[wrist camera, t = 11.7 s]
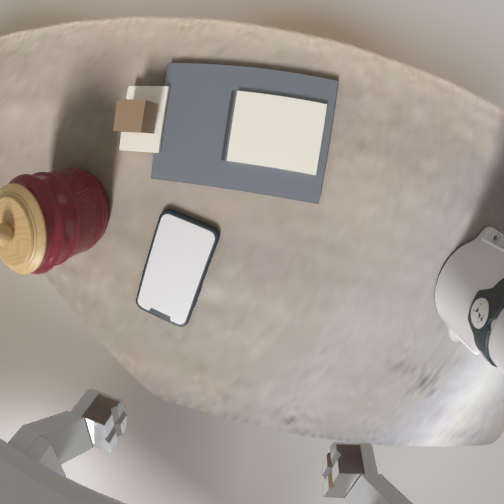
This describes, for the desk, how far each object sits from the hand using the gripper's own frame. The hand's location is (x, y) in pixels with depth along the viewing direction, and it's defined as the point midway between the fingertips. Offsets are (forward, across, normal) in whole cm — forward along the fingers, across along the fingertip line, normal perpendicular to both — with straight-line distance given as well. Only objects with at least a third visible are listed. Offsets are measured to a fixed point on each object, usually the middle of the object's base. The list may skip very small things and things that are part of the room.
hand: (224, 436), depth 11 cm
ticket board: (+33, +6, -13) cm, 36 cm away
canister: (+33, +30, +1) cm, 45 cm away
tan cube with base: (+32, +19, -13) cm, 39 cm away
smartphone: (+34, +13, +8) cm, 37 cm away
